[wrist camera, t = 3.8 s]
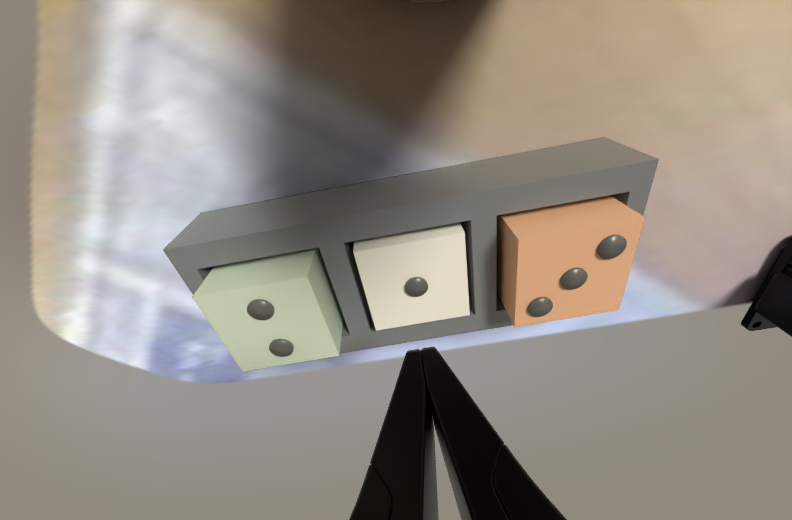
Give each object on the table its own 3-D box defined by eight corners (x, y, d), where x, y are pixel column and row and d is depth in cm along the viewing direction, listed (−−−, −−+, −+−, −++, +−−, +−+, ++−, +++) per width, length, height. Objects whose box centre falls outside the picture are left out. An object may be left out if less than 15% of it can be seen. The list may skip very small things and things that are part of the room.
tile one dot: (450, 203, 13) (465, 233, 11) (456, 279, 16) (470, 316, 14) (356, 220, 14) (352, 253, 11) (375, 293, 16) (376, 332, 14)
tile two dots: (318, 239, 13) (306, 278, 11) (343, 312, 15) (339, 357, 13) (220, 256, 13) (190, 298, 11) (260, 326, 15) (242, 373, 13)
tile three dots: (599, 188, 12) (647, 218, 10) (583, 272, 15) (620, 311, 12) (494, 207, 13) (519, 241, 10) (494, 287, 15) (515, 328, 13)
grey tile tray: (604, 137, 13) (658, 158, 11) (580, 268, 17) (617, 308, 14) (200, 213, 14) (162, 249, 11) (261, 322, 18) (243, 368, 15)
